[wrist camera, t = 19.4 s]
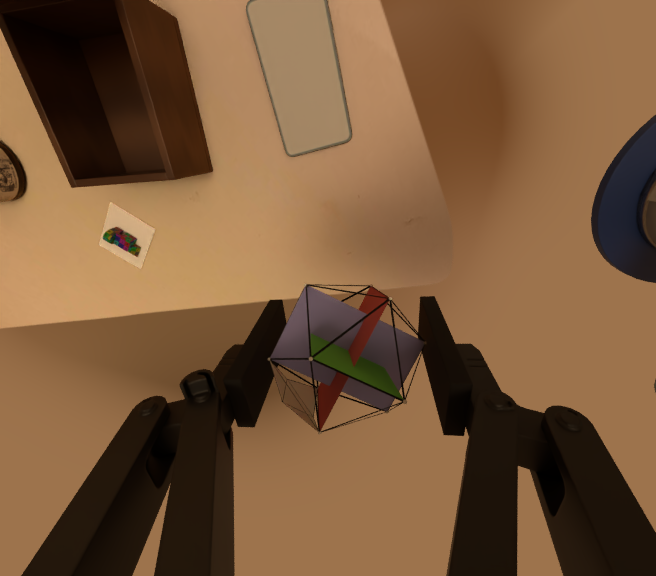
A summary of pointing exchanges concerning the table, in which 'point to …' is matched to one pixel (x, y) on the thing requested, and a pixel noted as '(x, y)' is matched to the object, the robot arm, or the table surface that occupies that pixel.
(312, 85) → the smartphone
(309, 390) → the geometric puzzle
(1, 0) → the compartment door
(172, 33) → the compartment
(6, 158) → the ink bottle
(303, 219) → the table surface
